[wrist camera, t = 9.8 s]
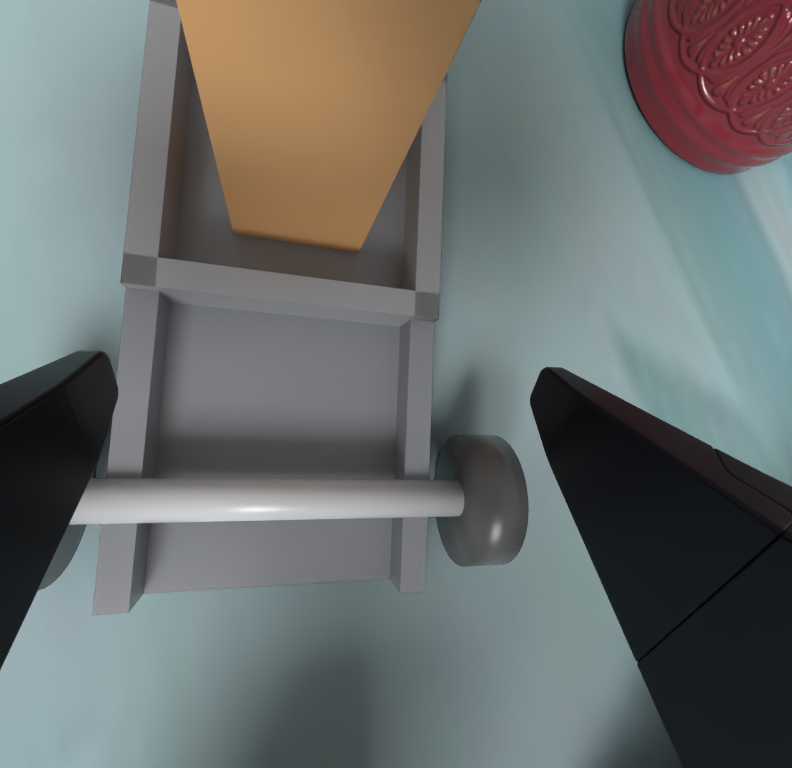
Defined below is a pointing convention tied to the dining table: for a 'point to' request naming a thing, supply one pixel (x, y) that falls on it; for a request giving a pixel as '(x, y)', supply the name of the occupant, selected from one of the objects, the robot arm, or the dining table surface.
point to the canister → (714, 78)
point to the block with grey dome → (316, 105)
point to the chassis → (277, 384)
